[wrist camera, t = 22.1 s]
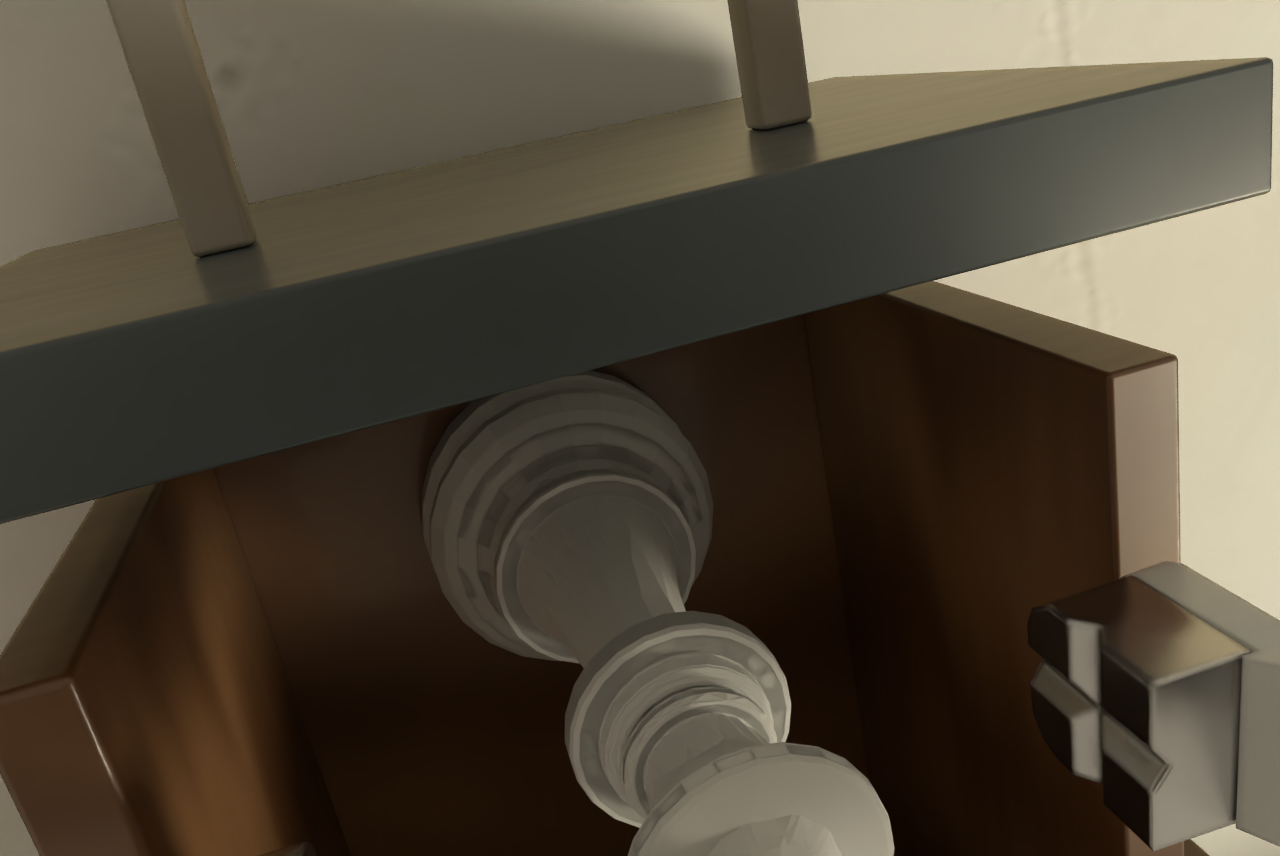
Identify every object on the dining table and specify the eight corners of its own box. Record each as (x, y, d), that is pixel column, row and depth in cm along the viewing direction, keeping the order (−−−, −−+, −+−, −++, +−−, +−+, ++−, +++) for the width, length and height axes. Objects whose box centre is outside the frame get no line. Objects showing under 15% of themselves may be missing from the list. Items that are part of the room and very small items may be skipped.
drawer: (-118, -127, 13) (-847, -487, 5) (795, -264, 16) (1288, -661, 8) (324, 1003, 20) (312, 1632, 12) (919, 789, 22) (1255, 1188, 14)
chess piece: (722, 551, 18) (1116, 1021, 9) (486, 663, 18) (643, 1289, 8) (634, 319, 16) (1004, 599, 7) (372, 434, 16) (408, 895, 7)
